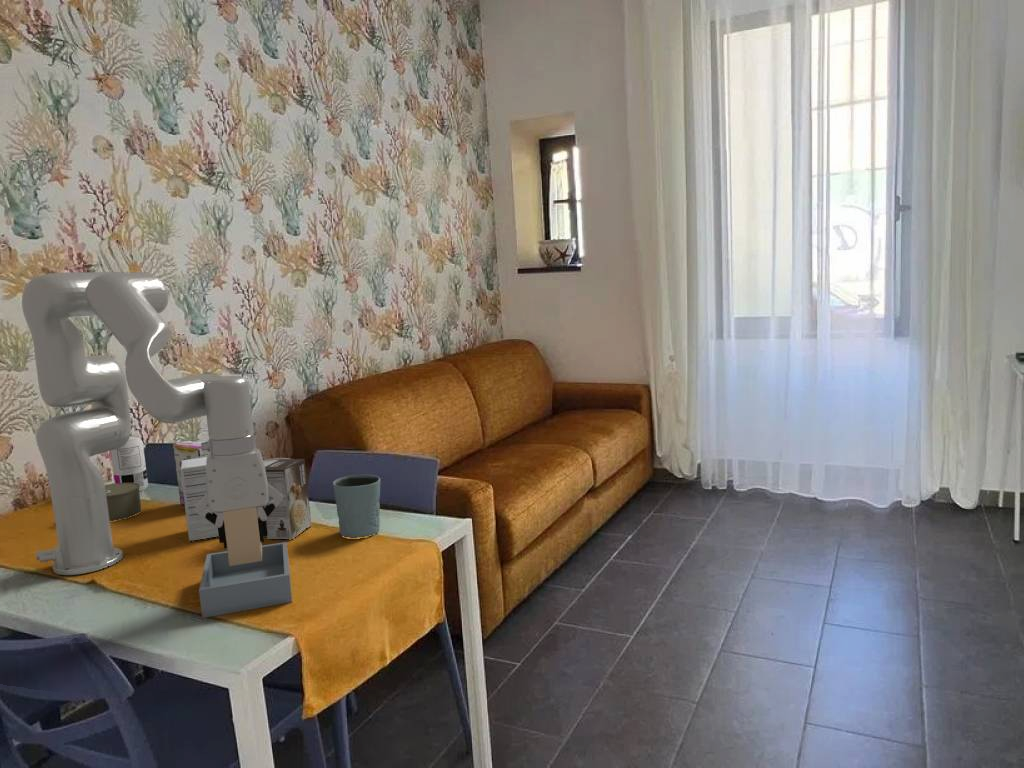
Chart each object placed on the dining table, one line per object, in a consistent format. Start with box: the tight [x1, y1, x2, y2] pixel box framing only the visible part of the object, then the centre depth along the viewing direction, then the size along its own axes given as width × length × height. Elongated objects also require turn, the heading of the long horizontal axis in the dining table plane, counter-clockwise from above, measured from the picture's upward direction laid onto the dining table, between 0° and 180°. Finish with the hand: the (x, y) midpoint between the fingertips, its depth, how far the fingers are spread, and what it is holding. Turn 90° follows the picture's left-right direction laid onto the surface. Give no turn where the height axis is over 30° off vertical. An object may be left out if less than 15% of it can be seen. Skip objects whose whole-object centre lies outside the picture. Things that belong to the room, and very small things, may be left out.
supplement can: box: [110, 435, 149, 493], centre depth 206 cm, size 8×8×15 cm
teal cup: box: [332, 474, 381, 538], centre depth 161 cm, size 10×10×12 cm
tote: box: [198, 541, 293, 619], centre depth 134 cm, size 15×18×5 cm
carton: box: [223, 507, 263, 566], centre depth 133 cm, size 6×6×10 cm
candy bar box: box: [172, 440, 211, 507], centre depth 187 cm, size 11×5×16 cm, turn 58°
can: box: [104, 483, 142, 521], centre depth 184 cm, size 12×12×7 cm
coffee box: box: [264, 458, 312, 540], centre depth 163 cm, size 9×6×16 cm
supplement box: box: [180, 457, 219, 541], centre depth 166 cm, size 10×9×17 cm
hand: (244, 542), depth 133 cm, fingers closed on carton, 5 cm apart
